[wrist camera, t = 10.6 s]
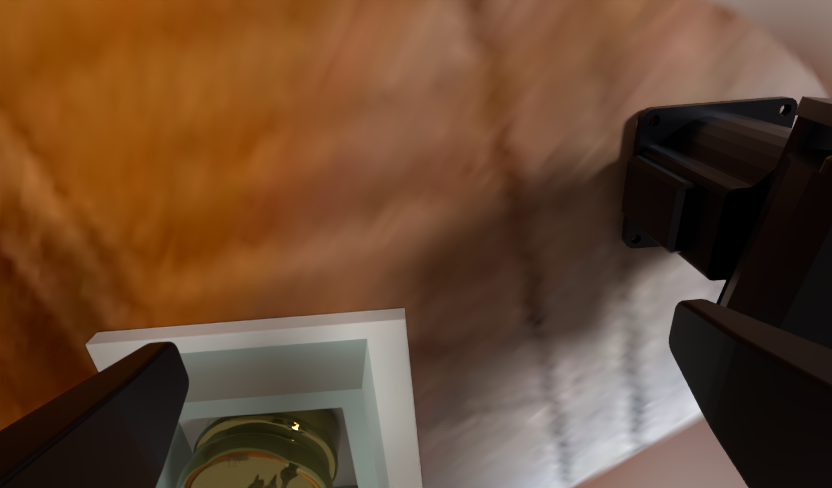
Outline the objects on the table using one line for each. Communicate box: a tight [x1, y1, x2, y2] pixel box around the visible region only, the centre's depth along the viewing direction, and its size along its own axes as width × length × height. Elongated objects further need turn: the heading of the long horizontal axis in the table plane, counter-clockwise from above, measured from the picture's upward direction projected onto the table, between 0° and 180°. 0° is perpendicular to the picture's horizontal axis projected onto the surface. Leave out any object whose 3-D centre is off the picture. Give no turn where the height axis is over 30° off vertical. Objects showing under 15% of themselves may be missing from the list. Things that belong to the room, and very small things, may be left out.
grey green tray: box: [85, 308, 423, 488], centre depth 24 cm, size 16×14×4 cm
